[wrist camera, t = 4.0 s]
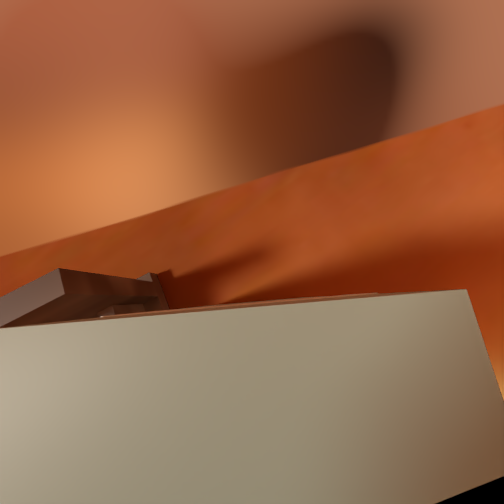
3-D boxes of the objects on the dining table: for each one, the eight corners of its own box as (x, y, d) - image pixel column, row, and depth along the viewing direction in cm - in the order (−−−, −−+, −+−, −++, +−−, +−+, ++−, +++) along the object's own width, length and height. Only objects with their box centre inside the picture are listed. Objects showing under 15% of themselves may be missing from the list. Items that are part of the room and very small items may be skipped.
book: (309, 348, 14) (619, 740, 2) (218, 354, 15) (-103, 697, 2) (302, 297, 15) (467, 286, 2) (217, 304, 15) (-20, 328, 3)
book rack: (218, 439, 13) (147, 632, 6) (41, 535, 13) (-290, 876, 5) (156, 274, 16) (54, 252, 9) (11, 348, 16) (-229, 394, 8)
